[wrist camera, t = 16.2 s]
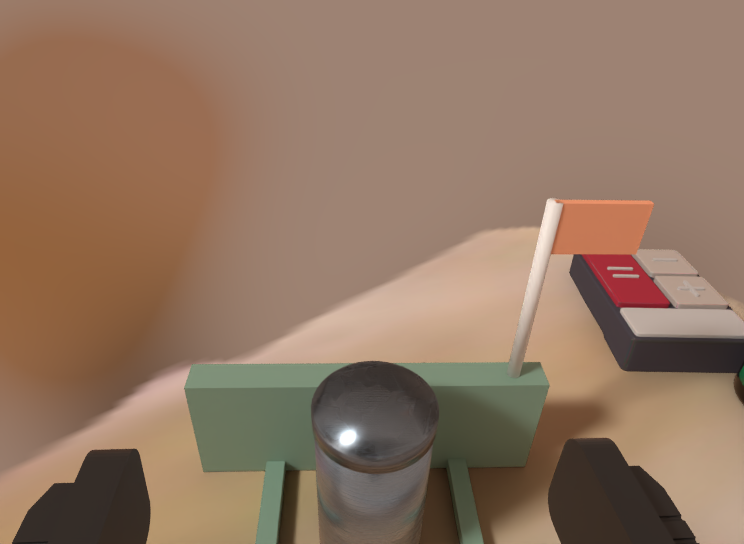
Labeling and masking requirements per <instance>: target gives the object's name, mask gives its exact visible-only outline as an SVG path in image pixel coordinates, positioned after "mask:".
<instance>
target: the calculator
mask: <svg viewBox="0 0 744 544" xmlns="http://www.w3.org/2000/svg"><path fill="white" fill-rule="evenodd" d="M569 273H570V275H571V277H572V279H573V281H574V282H575V284H576V286H577V288H578V290H579V292H580V294H581V295H582V297H583V299H584V301H585V303H586V304H587V306H588V308H589V309H590V311H591V313H592V314H593V316H594V318H595V319H596V321H597V323H598V325H599V326H600V328H601V330H602V331H603V333H604V338H605V340H606V342H607V344H608V346H609V348H610V350H611V351H612V353H613V355H614V357H615V359H616V361H617V363H618V364H619V366H620V368H621V369H622V370H624V371H644V372H705V373H737V372H738V370H739V369H740V367H741V365H742V363H743V361H744V321H743V320H742V319H741V318H740V317H739V316H738V315H737V314H736V313H735V312H734V311H733V310H732V309H731V308H730V307H729V306H728V305H729V304H728V302H727V301H726V300H725V299H724V298H723V297H722V296H721V295H720V294H719V293H718V292H717V291H716V290H715V289H714V288H713V287H712V286H711V285H710V284H709V283H708V282H707V281H706V280H705V279H704V278H703V277H700V276H699V275H698V272H697V271H696V270H695V269H694V268H693V267H692V266H691V265H690V264H689V263H688V262H687V261H686V260H685V259H684V257H682V255H680V254H679V252H677V251H676V250H651V249H649V250H648V249H638V251H637V254H636V255H634V254H574V256H573V260H572V264H571V268H570V272H569Z"/></svg>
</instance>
